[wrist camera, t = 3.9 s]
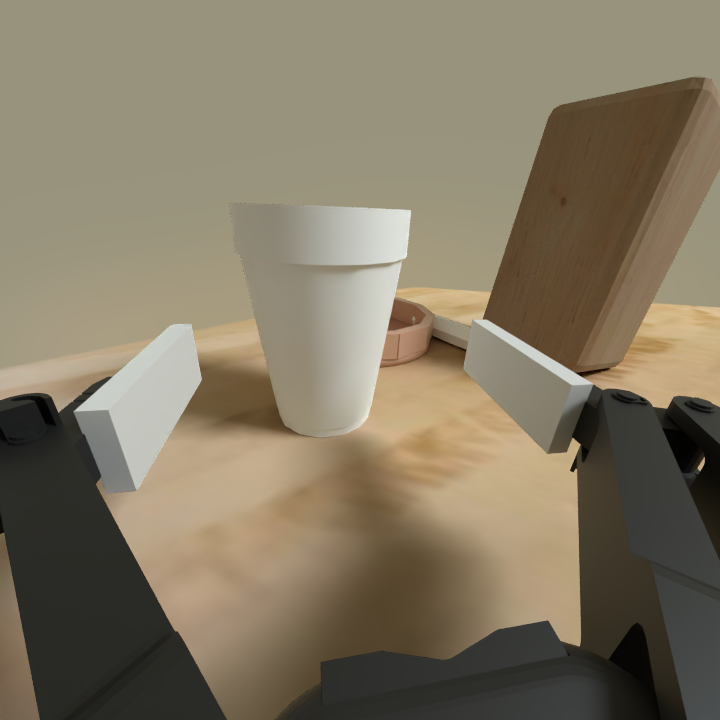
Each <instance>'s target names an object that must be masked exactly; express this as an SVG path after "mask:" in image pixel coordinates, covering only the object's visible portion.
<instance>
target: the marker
mask: <svg viewBox="0 0 720 720" xmlns="http://www.w3.org/2000/svg"><path fill="white" fill-rule="evenodd" d="M434 315H435V314H434ZM415 321H416V320H415V317H414V316H413V318H412V324H413V325H414V323H415ZM470 330H471V327H469V326H466V325H463V324H460V323H458V322H455V321H452V320H449V319H447V318H444V317H441V316H438V315H435V318H434V325H433V332H432V336H434V337H437V338H439V339H442V340H444V341H446V342H449V343H451V344H454V345H456V346H458V347H461V348H463V349H465V350H467V346H468V341H469V336H470Z"/></svg>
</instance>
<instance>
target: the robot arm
mask: <svg viewBox="0 0 720 720" xmlns="http://www.w3.org/2000/svg"><path fill="white" fill-rule="evenodd" d="M463 370H464V371H465V372H466V373H467V374H468V375H469V376H470V377H471V378H472V379H473V380H474V381H475V382H476V383H477V384H478V385H479V386H480V387H481V388H482V389H483V390H484V391H485V392H486V393H487V394H488V395H489V396H490V397H491V398H492V399H493V400H494V401H495V402H496V403H497V404H498V405H499V406H500V407H501V408H502V409H503V410H504V411H505V412H506V413H507V414H508V415H509V416H510V417H511V418H512V419H513V420H514V421H515V422H516V423H517V424H518V425H519V426H520V427H521V428H522V429H523V430H524V431H525V432H526V433H527V434H528V435H529V436H530V437H531V438H532V439H533V440H534V441H535V442H536V443H537V444H538V445H539V446H540V447H541V448H542V449H543V450H544V451H545V452H546V453H547V454H551V453H563V452H567V450H568V447H569V445H570V442H571V440H572V437H573V438H574V439H575V440H576V441H577V442H578V443H580V444H581V445H580V448H579V450H578V453H577V455H576V457H575V460H574V462H573V465H572V467H571V469H570V471H572V472H574V470H575V469H577V480H578V522H579V563H580V605H581V644H580V647H579V646H575V645H572V644H568V643H565V642H562V641H560V640H559V638H558V636H557V635H556V633H555V631H554V630H553V628H552V626H551V625H550V623H549V621H543V622H537V623H532V624H526V625H521V626H515V627H510V628H504V629H499V630H496V631H495V632H493V633H491V634H490V635H488V636H487V637H485V638H483V639H482V640H480V641H478V642H477V643H475V644H474V645H472V646H470V647H469V648H467V649H466V650H464V651H462V652H461V653H459V654H458V655H456V656H454V657H453V658H451V659H447V660H440V659H433V658H426V657H419V656H412V655H406V654H399V653H392V652H385V651H379V652H373V653H368V654H362V655H357V656H351V657H346V658H340V659H335V660H330V661H324V662H321V683H320V684H318V685H316V686H315V687H313V688H311V689H309V690H308V691H306V692H305V693H304V694H302V695H301V696H300V697H298V698H297V699H296V700H294V701H293V702H292V703H291V704H290V705H289V706H288V707H287V708H286V709H285V710H284V711H283V712H282V713H281V714H280V715H279V716H278V717H277V718H276V719H275V720H720V407H718V406H716V405H714V404H712V403H711V402H709V401H707V400H703V399H700V398H692V397H686V396H676V397H674V398H673V399H672V401H671V403H670V405H669V407H668V409H665V408H656V407H653V406H652V404H651V403H650V402H649V401H648V400H646V399H645V398H643V397H641V396H639V395H637V394H634V393H632V392H629V391H625V390H619V389H605V390H601V389H600V388H598V387H596V386H595V385H593V384H592V383H591V382H589V381H587V380H586V379H584V378H582V377H581V376H579V375H577V374H576V373H574V372H572V371H571V370H569V369H567V368H566V367H564V366H563V365H561V364H559V363H558V362H556V361H554V360H553V359H551V358H549V357H548V356H546V355H544V354H543V353H541V352H539V351H538V350H536V349H534V348H533V347H531V346H530V345H528V344H526V343H525V342H523V341H521V340H520V339H518V338H516V337H515V336H513V335H511V334H510V333H508V332H506V331H505V330H503V329H501V328H500V327H498V326H496V325H495V324H493V323H492V322H490V321H488V320H472V325H471V330H470V336H469V341H468V346H467V351H466V356H465V362H464V367H463ZM201 381H202V377H201V372H200V367H199V362H198V357H197V352H196V346H195V341H194V336H193V331H192V326H191V324H172V325H171V326H170V327H168V328H167V329H166V330H165V331H164V332H163V333H162V334H161V335H159V336H158V337H157V338H156V339H155V340H154V341H153V342H152V343H150V344H149V345H148V346H147V347H146V348H145V349H144V350H143V351H141V352H140V353H139V354H138V355H137V356H136V357H135V358H134V359H132V360H131V361H130V362H129V363H128V364H127V365H126V366H124V367H123V368H122V369H121V370H120V371H119V372H118V373H117V374H115V375H114V376H113V377H107V378H105V379H103V380H101V381H99V382H97V383H95V384H93V385H91V386H90V387H89V388H88V389H87V390H85V391H84V392H83V393H82V395H79V396H78V397H77V398H76V399H75V400H74V402H71V403H70V404H69V405H67V406H66V407H65V408H64V409H63V410H62V411H60V412H59V413H58V411H57V409H56V407H55V404H54V402H53V400H52V397H51V396H49V395H48V394H43V393H31V394H23V395H18V396H13V397H9V398H6V399H3V400H0V534H1V533H4V534H5V539H6V545H7V550H8V555H9V560H10V565H11V571H12V576H13V581H14V586H15V591H16V597H17V602H18V607H19V612H20V617H21V623H22V628H23V633H24V638H25V643H26V649H27V654H28V659H29V664H30V669H31V675H32V680H33V685H34V690H35V695H36V701H37V706H38V711H39V716H40V720H227V719H226V717H225V716H224V714H223V712H222V710H221V708H220V706H219V705H218V703H217V701H216V699H215V697H214V695H213V694H212V692H211V690H210V688H209V686H208V684H207V683H206V681H205V679H204V677H203V675H202V674H201V672H200V670H199V668H198V666H197V664H196V663H195V661H194V659H193V657H192V655H191V653H190V652H189V650H188V648H187V646H186V645H185V643H184V641H183V639H182V638H181V636H180V635H179V633H178V632H175V630H174V629H173V627H172V626H171V624H170V622H169V620H168V618H167V617H166V615H165V613H164V611H163V609H162V607H161V605H160V603H159V602H158V600H157V598H156V596H155V594H154V592H153V590H152V589H151V587H150V585H149V583H148V581H147V579H146V577H145V576H144V574H143V572H142V570H141V568H140V566H139V564H138V563H137V561H136V559H135V557H134V555H133V553H132V551H131V550H130V548H129V546H128V544H127V542H126V540H125V538H124V537H123V535H122V533H121V531H120V529H119V527H118V525H117V524H116V522H115V520H114V518H113V516H112V514H111V512H110V510H109V509H108V507H107V505H106V503H105V501H104V499H103V497H102V496H101V494H100V492H99V490H98V488H97V486H96V483H97V482H98V480H99V479H100V478H101V481H102V483H103V485H104V488H105V490H106V493H107V494H108V493H119V492H130V491H137V489H138V488H139V486H140V484H141V483H142V481H143V479H144V478H145V476H146V474H147V473H148V471H149V469H150V467H151V466H152V464H153V462H154V461H155V459H156V457H157V456H158V454H159V452H160V450H161V449H162V447H163V445H164V444H165V442H166V440H167V439H168V437H169V435H170V433H171V432H172V430H173V428H174V427H175V425H176V423H177V422H178V420H179V418H180V416H181V415H182V413H183V411H184V410H185V408H186V406H187V405H188V403H189V401H190V399H191V398H192V396H193V394H194V393H195V391H196V389H197V388H198V386H199V384H200V382H201ZM704 457H705V464H704V466H703V468H702V470H701V471H699V470H698V469H697V468H698V466H699V465H700V463H701V462H702V460H703V458H704ZM321 691H322V695H321Z"/></svg>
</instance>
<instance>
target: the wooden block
mask: <svg viewBox="0 0 720 720" xmlns="http://www.w3.org/2000/svg"><path fill="white" fill-rule="evenodd" d="M719 169H720V95H719V92H718V91H717V89H716V87H715V85H714V83H713V81H712V79H708V78H704V77H700V76H698V77H691V78H687V79H682V80H677V81H673V82H668V83H663V84H658V85H653V86H649V87H644V88H639V89H634V90H630V91H625V92H620V93H616V94H611V95H606V96H601V97H596V98H592V99H587V100H582V101H577V102H573V103H568V104H563V105H560V106H559V107H556V108H555V109H553V111H552V113H551V114H550V116H549V118H548V121H547V124H546V127H545V130H544V133H543V136H542V139H541V142H540V145H539V148H538V151H537V155H536V157H535V161H534V164H533V167H532V170H531V173H530V176H529V179H528V182H527V185H526V188H525V191H524V194H523V198H522V201H521V203H520V207H519V210H518V213H517V216H516V219H515V222H514V225H513V228H512V231H511V234H510V237H509V240H508V243H507V246H506V249H505V253H504V256H503V259H502V262H501V265H500V268H499V271H498V274H497V277H496V280H495V283H494V286H493V289H492V292H491V295H490V298H489V302H488V305H487V308H486V311H485V314H484V317H483V320H488V321H490V322H492V323H493V324H495V325H496V326H498V327H500V328H501V329H503V330H505V331H506V332H508V333H510V334H511V335H513V336H515V337H516V338H518V339H520V340H521V341H523V342H525V343H526V344H528V345H530V346H531V347H533V348H534V349H536V350H538V351H539V352H541V353H543V354H544V355H546V356H548V357H549V358H551V359H553V360H554V361H556V362H558V363H559V364H561V365H563V366H564V367H566V368H567V369H569V370H571V371H572V372H574V373H577V372H584V371H590V370H597V369H604V368H610V367H615V366H617V365H618V364H619V363H620V362H622V360H623V358H624V356H625V355H626V353H627V351H628V349H629V347H630V345H631V343H632V341H633V339H634V337H635V335H636V333H637V331H638V329H639V327H640V325H641V323H642V321H643V319H644V317H645V315H646V313H647V311H648V309H649V307H650V305H651V303H652V301H653V299H654V297H655V295H656V293H657V292H658V289H659V288H660V286H661V284H662V282H663V280H664V278H665V276H666V274H667V272H668V270H669V268H670V266H671V264H672V262H673V260H674V258H675V256H676V254H677V252H678V250H679V248H680V246H681V244H682V242H683V240H684V238H685V236H686V234H687V232H688V230H689V228H690V226H691V225H692V222H693V221H694V219H695V217H696V215H697V212H698V211H699V209H700V207H701V205H702V203H703V201H704V199H705V197H706V195H707V193H708V191H709V189H710V187H711V185H712V183H713V181H714V179H715V177H716V175H717V173H718V171H719Z"/></svg>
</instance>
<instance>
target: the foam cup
mask: <svg viewBox="0 0 720 720" xmlns="http://www.w3.org/2000/svg"><path fill="white" fill-rule="evenodd" d="M229 207H230V215H231V223H232V231H233V240H234V248H235V252H236V253H237V254H239V255H240V258H241V262H242V266H243V270H244V274H245V279H246V282H247V286H248V291H249V295H250V299H251V303H252V307H253V311H254V315H255V319H256V323H257V327H258V331H259V336H260V340H261V344H262V348H263V352H264V356H265V360H266V364H267V368H268V372H269V376H270V380H271V384H272V388H273V393H274V397H275V401H276V405H277V408H278V410H279V415H280V417H281V419H282V421H283V423H284V425H285V426H286V427H288V428H290V429H291V430H293V431H295V432H296V433H298V434H300V435H307V436H313V437H319V438H324V437H332V436H339V435H345V434H347V433H349V432H351V431H353V430H355V429H357V428H359V427H361V425H362V424H363V423H364V421H365V420H366V419H367V417H368V416H369V410H370V408H371V404H372V400H373V395H374V390H375V386H376V381H377V376H378V372H379V367H380V362H381V358H382V353H383V348H384V344H385V339H386V334H387V330H388V325H389V320H390V316H391V311H392V306H393V302H394V297H395V292H396V288H397V283H398V278H399V273H400V269H401V264H402V260H403V259H404V258H406V257H407V248H408V237H409V226H410V216H411V210H397V209H376V208H354V207H329V206H305V205H281V204H254V203H229Z"/></svg>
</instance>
